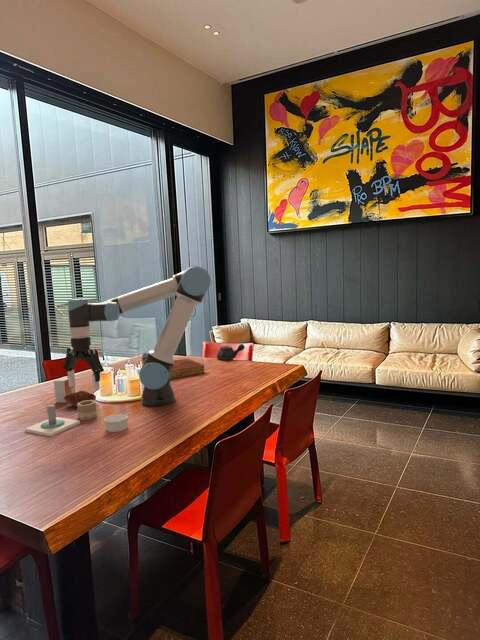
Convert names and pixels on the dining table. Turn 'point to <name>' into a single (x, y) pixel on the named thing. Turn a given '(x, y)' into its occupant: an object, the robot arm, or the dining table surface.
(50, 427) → the post stand
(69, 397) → the fossil
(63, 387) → the small box
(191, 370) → the book
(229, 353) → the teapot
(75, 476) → the dining table surface
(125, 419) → the ramekin
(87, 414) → the maple ring
